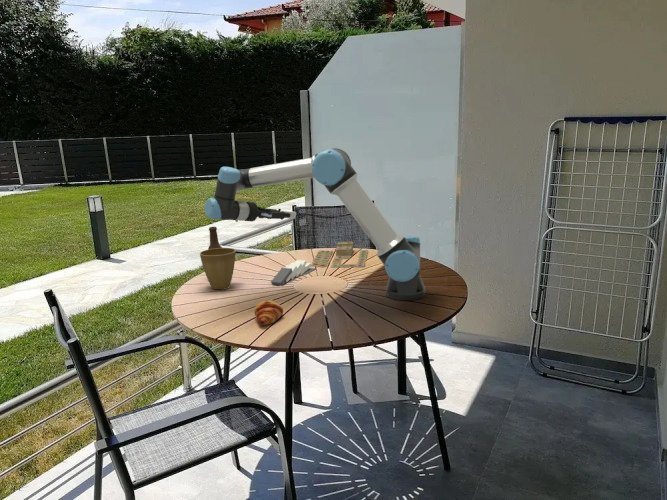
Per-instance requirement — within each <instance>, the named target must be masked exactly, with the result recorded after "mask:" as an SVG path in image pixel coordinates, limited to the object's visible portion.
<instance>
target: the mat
mask: <svg viewBox="0 0 667 500" xmlns="http://www.w3.org/2000/svg"><path fill="white" fill-rule="evenodd" d="M315 270H317V267H316V268H314V267H310V268H309V269H308V270H306V271H305V272H304V273H303V274H302V275H308V274H310V273H312V272H314V271H315Z"/></svg>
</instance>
